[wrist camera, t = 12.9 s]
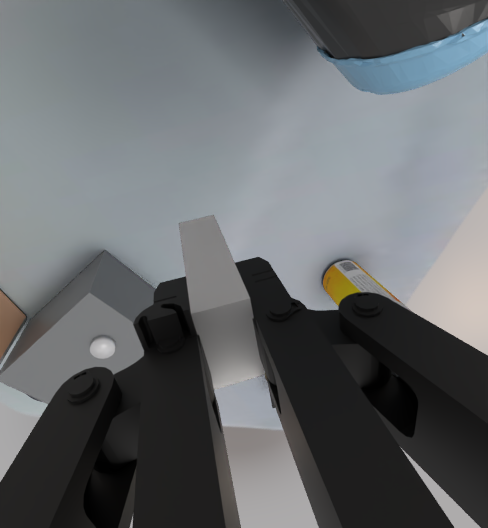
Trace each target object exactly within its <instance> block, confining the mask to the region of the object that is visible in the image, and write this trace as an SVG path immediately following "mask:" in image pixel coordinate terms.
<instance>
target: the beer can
mask: <svg viewBox="0 0 488 528" xmlns="http://www.w3.org/2000/svg"><path fill="white" fill-rule="evenodd" d="M323 286H324V289H325V291H326V292H327V293H328V294H329V296H330V297H331V298H332V299H333V300H334V302H335V303H336V304H337V305H338V306H339V304H340V302H341V300H342V299H343V298H345V297H346V296H347V295H350V294H353V293H357V292H371V293H378V294H380V295H383V296H385V297H387V298H389V299H391V300H392V301H394V302H396V303H398V304H399V305H401V306H403V307H405V308H406V309H408V310H410V309H409V308H407V307H406V306H405V305H404V304H403V303H402V302H400V301H399V300H398V299H397V298H396V297H395V296H394V295H392V294H391V293H390V292H389V291H388V290H387V289H385V288H384V287H383V286H382V285H381V284H380V283H379V282H377V281H376V280H375V279H374V278H373V277H372V276H370V275H369V274H368V273H367V272H366V271H365V270H364V269H362V268H361V267H360V266H359V265H358V264H357V263H355V262H353V261H350V260H344V261H340V262H337V263H335V264H333V265H332V266H331V267H329V269H328V270H327V271H326V273H325V276H324V279H323ZM410 311H411V310H410ZM411 312H412V311H411Z"/></svg>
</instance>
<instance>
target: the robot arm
mask: <svg viewBox="0 0 488 528" xmlns="http://www.w3.org/2000/svg"><path fill="white" fill-rule="evenodd" d="M282 1H283V2H284V3H285V5H286V6H287V7H288V8H289V10H290V11H291V12H292V14H293V15H294V16H295V18H296V19H297V20H298V21H299V23H300V24H301V25H302V27H303V28H304V29H305V30H306V32H307V33H308V34H309V36H310V37H311V38H312V40H313V41H314V42H315V43H316V45H317V50H318V52H319V53H320V54H321V56H322V57H323V58H325V59H326V60H327V61H329V62H332V63H333V64H334V65H335V66H336V68H337V69H338V70H339V71H340V72H341V73H342V74H343V75H344V77H345V78H346V79H347V80H348V81H349V82H350V83H351V84H352V85H353V86H354V87H356V88H357V89H359V90H361V91H365V92H371V93H375V94H380V95H383V94H394V93H400V92H405V91H409V90H413V89H416V88H419V87H422V86H425V85H427V84H430V83H432V82H435V81H437V80H439V79H441V78H444V77H446V76H448V75H450V74H452V73H454V72H456V71H458V70H460V69H461V68H463V67H465V66H467V65H468V64H470V63H472V62H474V61H475V60H477V59H478V58H480V57H481V56H483V55H484V54H486V53H487V52H488V0H282ZM179 228H180V236H181V243H182V251H183V258H184V266H185V273H186V277H182V278H178V279H174V280H170V281H166V282H162V283H160V284H159V285H158V287H157V288H156V290H155V291H154V300H153V302H154V303H153V305H151V306H149V307H148V308H146V309H145V310H143V311H142V312H141V313H140V314H139V315H138V316H137V317H136V318H135V321H134V323H133V326H134V328H135V331H136V333H137V335H138V338H139V340H140V343H141V345H142V347H143V350H144V356H143V357H142V358H140V359H139V360H138V361H137V362H135V363H134V364H132V365H130V366H129V367H127V368H125V369H123V370H121V371H119V372H117V373H116V374H114V375H113V373H112V371H111V370H109V369H107V368H106V367H93V368H89V369H85V370H83V371H81V372H79V373H77V374H75V375H73V376H72V377H71V378H69V379H68V380H67V381H65V382H64V383H63V384H62V385H61V387H60V388H59V389H58V390H57V392H56V393H55V395H54V396H53V398H52V399H51V401H50V403H49V404H48V406H47V408H46V409H45V411H44V412H43V414H42V416H41V417H40V419H39V420H38V422H37V424H36V425H35V427H34V429H33V430H32V432H31V433H30V435H29V437H28V438H27V440H26V442H25V443H24V445H23V447H22V448H21V450H20V451H19V453H18V455H17V456H16V458H15V460H14V461H13V463H12V464H11V466H10V468H9V469H8V471H7V472H6V474H5V476H4V477H3V479H2V480H1V482H0V528H129V527H130V523H131V520H132V516H133V528H241V525H240V520H239V515H238V510H237V505H236V498H235V493H234V488H233V482H232V477H231V472H230V466H229V461H228V455H227V450H226V445H225V440H224V434H223V429H222V423H221V418H220V412H219V407H218V403H217V400H216V397H215V393H214V390H215V389H219V388H222V387H225V386H229V385H232V384H236V383H239V382H242V381H246V380H249V379H252V378H256V377H259V376H262V375H265V374H264V370H265V373H266V376H267V381H268V386H269V391H270V397H271V402H272V407H273V408H275V407H276V410H277V413H278V416H279V418H280V421H281V424H282V427H283V429H284V432H285V435H286V437H287V440H288V443H289V446H290V448H291V451H292V454H293V457H294V460H295V462H296V465H297V468H298V471H299V474H300V476H301V479H302V482H303V485H304V488H305V490H306V493H307V496H308V499H309V501H310V504H311V507H312V510H313V512H314V515H315V518H316V521H317V524H318V526H319V528H454V526H453V525H452V524H451V522H450V520H449V519H448V517H447V516H446V514H445V513H444V511H443V510H442V509H441V507H440V506H439V504H438V503H437V501H436V500H435V498H434V497H433V495H432V494H431V492H430V491H429V489H428V488H427V486H426V485H425V483H424V482H423V480H422V479H421V477H420V476H419V474H418V473H417V471H416V470H415V468H414V467H413V465H412V464H411V463H410V461H409V460H408V458H407V457H406V455H405V454H404V452H403V451H402V449H403V450H404V451H405V452H406V453H407V454H408V455H409V456H410V457H411V458H412V459H413V460H414V461H415V462H416V463H417V464H418V465H419V466H420V467H421V468H422V469H423V470H424V471H425V472H426V473H427V474H428V475H429V476H430V477H431V478H432V479H433V480H434V481H435V482H436V483H437V484H438V485H439V486H440V487H441V488H442V489H443V490H444V491H445V492H446V493H447V494H448V495H449V496H450V497H451V498H452V499H453V500H454V501H455V502H456V503H457V504H458V505H459V506H460V507H461V508H462V509H463V510H464V511H465V512H466V513H467V514H468V515H469V516H470V517H471V518H472V519H473V520H474V521H475V522H476V523H477V524H478V525H479V526H480V527H481V528H488V355H486V354H484V353H482V352H480V351H479V350H477V349H475V348H474V347H472V346H470V345H469V344H467V343H465V342H463V341H462V340H460V339H458V338H456V337H455V336H453V335H451V334H449V333H448V332H446V331H444V330H443V329H441V328H439V327H437V326H436V325H434V324H432V323H430V322H429V321H427V320H425V319H424V318H422V317H420V316H418V315H417V314H415V313H413V312H411V311H410V310H408V309H406V308H405V307H403V306H401V305H399V304H398V303H396V302H394V301H392V300H391V299H389V298H387V297H385V296H383V295H380V294H378V293H371V292H357V293H353V294H350V295H347V296H346V297H345V298H343V299H342V300H341V302H340V304H339V310H326V311H315V310H309V309H307V308H306V307H305V305H304V304H302V303H301V302H300V301H298V300H296V299H293V298H291V297H290V295H289V294H288V292H287V290H286V289H285V287H284V286H283V284H282V283H281V281H280V279H279V278H278V277H277V275H276V273H275V272H274V271H273V268H272V267H271V265H270V264H269V262H268V261H266V260H264V259H262V258H260V257H256V258H252V259H248V260H244V261H240V262H236V263H235V262H234V260H233V258H232V256H231V253H230V251H229V249H228V246H227V244H226V242H225V239H224V237H223V235H222V233H221V230H220V228H219V226H218V223H217V221H216V219H215V216H214V215H211V216H207V217H202V218H198V219H194V220H190V221H186V222H181V223H179ZM263 368H264V369H263ZM400 447H401V448H402V449H401V448H400ZM133 512H134V513H133Z"/></svg>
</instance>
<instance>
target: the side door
mask: <svg viewBox="0 0 488 528" xmlns="http://www.w3.org/2000/svg"><path fill="white" fill-rule="evenodd" d="M25 322H26V316H25V315H24V314H23V313H22V312H21V311H20V310H19V309H18V308H17V307H16V306H15V305H14V304H13V303H12V302H11V301H10V300H9V299H8V298H7V297H6V296H5V295H4V294H3V293H2V292H1V291H0V364H1V362H2V360H3V359H4V357H5V355H6V354H7V352H8V350H9V349H10V347H11V345H12V344H13V342H14V340H15V339H16V337H17V335H18V334H19V332H20V330H21V329H22V327H23V325H24V324H25Z"/></svg>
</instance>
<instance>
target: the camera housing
mask: <svg viewBox="0 0 488 528" xmlns="http://www.w3.org/2000/svg"><path fill="white" fill-rule="evenodd" d="M155 290H156V289H154V288H153V287H152V286H150V285H149V284H148V283H147V282H145V281H144V280H143V279H141V278H140V277H139V276H138V275H136V274H135V273H134V272H133V271H131V270H130V269H129V268H127V267H126V266H125V265H124V264H122V263H121V262H120V261H118V260H117V259H116V258H115V257H113V256H112V255H111V254H110V253H108V252H107V251H106V250H104V251H103V252H102V253H101V254H100V255H99V256H98V257H97V258H96V259H95V260H94V261H93V262H92V263H91V264H89V265H88V266H87V267H86V268H85V269H84V270H83V271H82V272H81V273H80V274H79V275H78V276H77V277H76V278H75V279H74V280H72V281H71V282H70V283H69V284H68V285H67V286H66V287H65V288H64V289H63V290H62V291H61V292H60V293H59V294H58V295H56V296H55V297H54V298H53V299H52V300H51V301H50V302H49V303H48V304H47V305H46V306H45V307H44V308H43V309H42V310H41V311H39V312H38V313H37V314H36V315H35V316H34V317H33V318H32V319H31V320H30V321H29V322H28V324H27V326H26V328H25V329H24V331H23V333H22V334H21V336H20V338H19V340H18V341H17V343H16V345H15V346H14V348H13V350H12V352H11V353H10V355H9V357H8V358H7V360H6V362H5V364H4V365H3V367H2V369H1V370H0V382H2V383H4V384H6V385H8V386H10V387H12V388H15V389H17V390H19V391H21V392H23V393H25V394H27V395H28V396H29V397H31V398H33V399H35V400H37V401H41V402H45V403H47V404H49V403H50V401H51V399H52V398H53V396H54V395H55V393H56V392H57V390H58V389H59V388H60V387H61V385H62V384H63V383H64V382H65V381H67V380H68V379H69V378H71V377H72V376H73V375H75V374H77V373H79V372H81V371H83V370H85V369H89V368H93V367H106V368H107V369H109V370H111V371H112V373H113V375H114V374H116V373H117V372H119V371H121V370H123V369H125V368H127V367H129V366H130V365H132V364H134V363H135V362H137V361H138V360H139V359H140V358H142V357H143V356H144V350H143V347H142V345H141V343H140V340H139V338H138V335H137V333H136V331H135V328H134V326H133V323H134V321H135V318H136V317H137V316H138V315H139V314H140V313H141V312H142V311H143V310H145V309H146V308H148V307H149V306H151V305H153V303H154V302H153V300H154V291H155Z"/></svg>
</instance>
